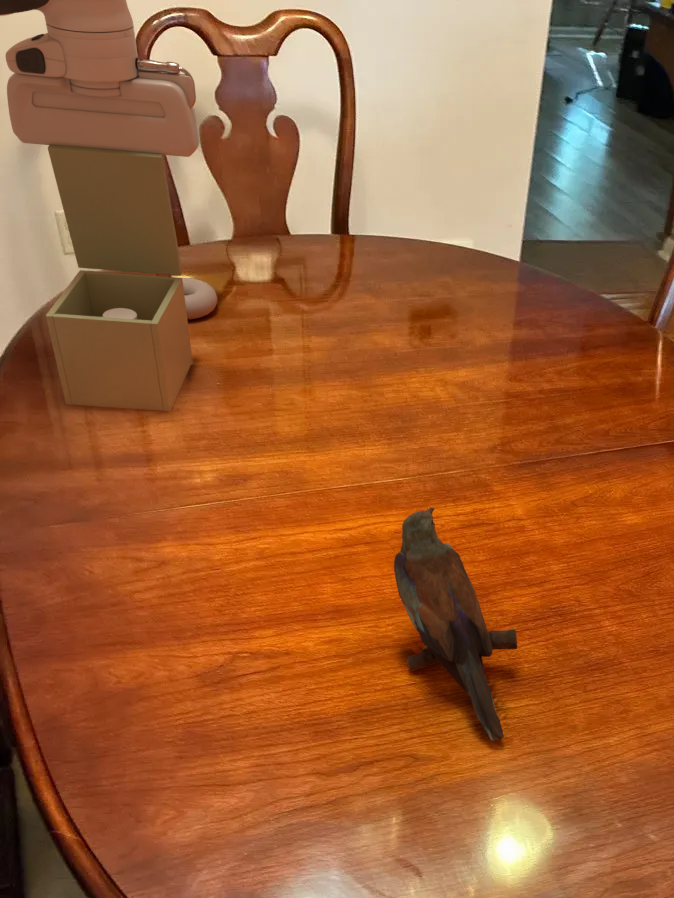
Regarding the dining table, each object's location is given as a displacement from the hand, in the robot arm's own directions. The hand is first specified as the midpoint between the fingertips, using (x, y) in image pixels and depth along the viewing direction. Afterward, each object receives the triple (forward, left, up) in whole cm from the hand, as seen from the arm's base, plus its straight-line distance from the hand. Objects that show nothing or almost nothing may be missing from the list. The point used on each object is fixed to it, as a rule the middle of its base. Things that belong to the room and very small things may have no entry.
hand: (116, 189), depth 113 cm
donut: (+1, +19, -23) cm, 30 cm away
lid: (0, -1, -3) cm, 3 cm away
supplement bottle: (0, -7, -22) cm, 23 cm away
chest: (0, -7, -23) cm, 24 cm away
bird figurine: (+42, -55, -23) cm, 73 cm away
